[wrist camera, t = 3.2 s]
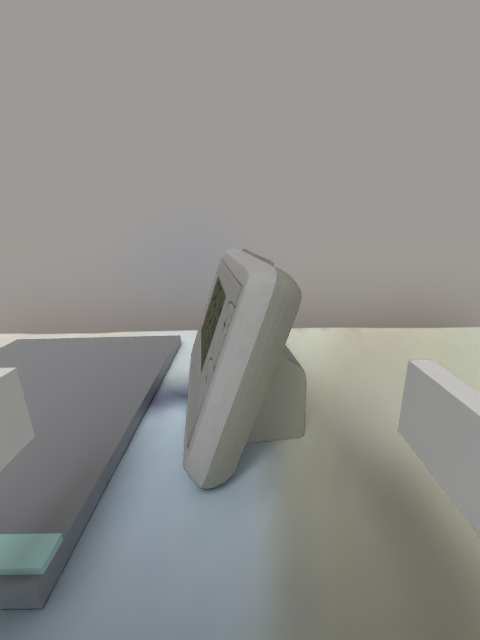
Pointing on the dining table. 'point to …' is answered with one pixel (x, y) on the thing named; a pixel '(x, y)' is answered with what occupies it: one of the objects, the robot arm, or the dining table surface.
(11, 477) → the docking pad
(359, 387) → the dining table surface
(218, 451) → the digital clock
